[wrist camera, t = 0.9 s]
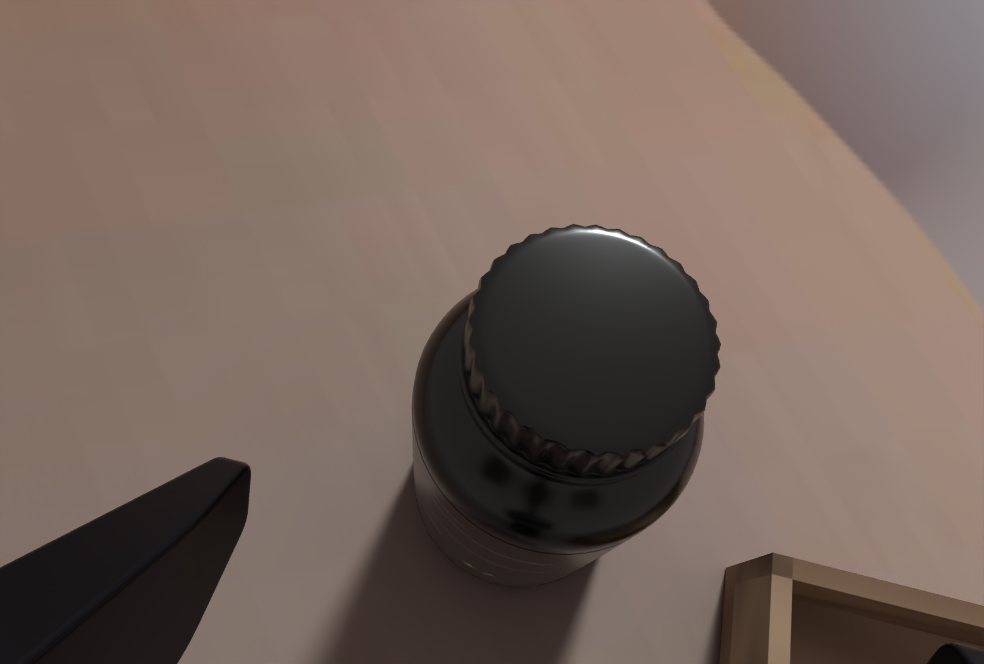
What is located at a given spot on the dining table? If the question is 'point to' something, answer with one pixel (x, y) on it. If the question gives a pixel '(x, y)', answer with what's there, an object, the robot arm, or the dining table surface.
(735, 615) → the wooden desk organizer
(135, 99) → the dining table surface
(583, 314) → the supplement bottle
